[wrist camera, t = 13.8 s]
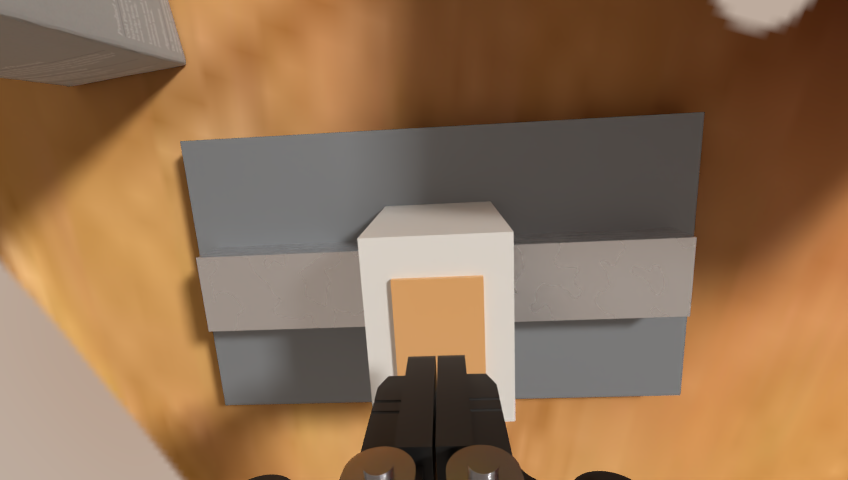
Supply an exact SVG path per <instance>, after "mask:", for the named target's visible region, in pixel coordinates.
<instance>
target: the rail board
mask: <svg viewBox="0 0 848 480" xmlns="http://www.w3.org/2000/svg"><path fill="white" fill-rule="evenodd" d="M704 113H705V112H696V113H678V114H660V115H642V116H625V117H607V118H589V119H571V120H553V121H535V122H518V123H500V124H482V125H464V126H446V127H428V128H410V129H393V130H375V131H357V132H339V133H321V134H303V135H286V136H268V137H250V138H232V139H214V140H196V141H180V143H181V149H182V155H183V161H184V166H185V172H186V178H187V184H188V190H189V195H190V201H191V207H192V213H193V219H194V224H195V230H196V236H197V242H198V248H199V253H200V256H201V255H203V254H205V253H207V252H209V251H211V250H213V249H216V248H218V247H237V246H260V245H284V244H308V243H331V242H355V241H357V238H358V237H359V236H360V235H361V234H362V233H363V231H364V230H365V229H366V228H367V227H368V226H369V225H370V223H371V222H372V221H373V220H374V219H375V218H376V217H377V215H378V214H379V213H380V212H381V211H382V210H383V208H384V207H385V206H403V205H424V204H445V203H466V202H487V201H491V203H492V204H493V205H494V207H495V208H496V209H497V211H498V212H499V213H500V215H501V216H502V217H503V218H504V220H505V221H506V222H507V224H508V225H509V226H510V228H511V229H512V230H513V232H514V235H521V234H544V233H568V232H591V231H615V230H639V229H662V228H674V229H676V230H679V231H682V232H684V233H687V234H689V235H692V236H694V229H695V218H696V206H697V194H698V183H699V171H700V159H701V148H702V136H703V124H704ZM686 323H687V316H686V317H654V318H623V319H591V320H559V321H528V322H514V331H515V399H526V398H571V397H616V396H661V395H680V393H681V381H682V369H683V358H684V346H685V334H686ZM213 335H214V340H215V346H216V352H217V358H218V364H219V370H220V375H221V381H222V387H223V393H224V399H225V404H226V405H255V404H300V403H345V402H372V396H371V385H370V374H369V363H368V352H367V340H366V329H365V327H338V328H306V329H274V330H243V331H213Z"/></svg>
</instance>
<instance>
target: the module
mask: <svg viewBox="0 0 848 480" xmlns="http://www.w3.org/2000/svg"><path fill="white" fill-rule="evenodd" d="M357 241H358V252H359V263H360V274H361V285H362V296H363V307H364V318H365V329H366V340H367V352H368V363H369V374H370V385H371V396H372V407H373V403H374V400H375V396H376V392H377V388H378V387H379V386H380V384H381V383H382V382H383V381H384V380H385V379H386V378H387V377H388V376H405V373H406V367H407V361H408V357H410V356H436V371H437V362H438V356H442V355H465V362H466V372H467V374H484V373H486V374H487V375H488V376H489V377H490V378H491V379H492V380H493V381H494V382H495V383H496V384H497V388H498V393H499V397H500V402H501V406H502V411H503V416H504V420H505V421H515V331H514V232H513V230H512V229H511V228H510V226H509V225H508V224H507V222H506V221H505V220H504V218H503V217H502V216H501V215H500V213H499V212H498V211H497V209H496V208H495V207H494V205H493V204H492V203H491V201H487V202H466V203H445V204H424V205H403V206H385V207H384V208H383V210H382V211H381V212H380V213H379V214H378V215H377V217H376V218H375V219H374V220H373V221H372V222H371V223H370V225H369V226H368V227H367V228H366V229H365V230H364V231H363V233H362V234H361V235H360V236H359V237H358V238H357Z"/></svg>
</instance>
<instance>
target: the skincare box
mask: <svg viewBox="0 0 848 480" xmlns="http://www.w3.org/2000/svg"><path fill="white" fill-rule="evenodd" d="M185 64H186V60H185V56H184V53H183V49H182V46H181V43H180V39H179V36H178V32H177V29H176V26H175V22H174V19H173V15H172V12H171V9H170V5H169V2H168V0H0V78H7V79H16V80H25V81H32V82H40V83H48V84H56V85H64V86H76V85H82V84H87V83H93V82H98V81H103V80H108V79H113V78H118V77H123V76H128V75H133V74H140V73H145V72H152V71H156V70H162V69H167V68H173V67H178V66H183V65H185Z"/></svg>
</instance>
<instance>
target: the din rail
mask: <svg viewBox="0 0 848 480" xmlns="http://www.w3.org/2000/svg"><path fill="white" fill-rule="evenodd" d="M696 240H697V237H695V236H692V235H689V234H687V233H684V232H682V231H679V230H676V229H674V228H662V229H639V230H615V231H591V232H568V233H544V234H521V235H514V322H528V321H559V320H591V319H623V318H654V317H686V316H690V309H691V298H692V286H693V275H694V263H695V252H696ZM196 261H197V267H198V273H199V278H200V284H201V290H202V296H203V301H204V307H205V313H206V319H207V324H208V330H209V332H211V331H243V330H274V329H306V328H338V327H365V318H364V307H363V296H362V285H361V274H360V263H359V252H358V241H355V242H331V243H308V244H284V245H260V246H237V247H218V248H216V249H213V250H211V251H209V252H207V253H205V254H203V255H201V256H199V257H197V258H196Z"/></svg>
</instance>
